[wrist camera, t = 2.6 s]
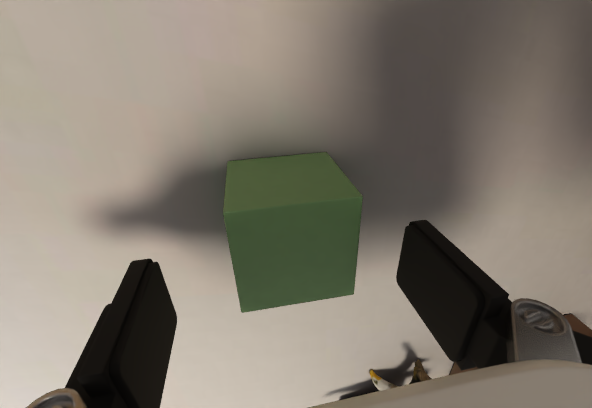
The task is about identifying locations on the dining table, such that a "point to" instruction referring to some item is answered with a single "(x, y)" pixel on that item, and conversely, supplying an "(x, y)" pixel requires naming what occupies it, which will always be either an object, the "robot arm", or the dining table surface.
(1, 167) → the dining table surface
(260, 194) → the green toy block
